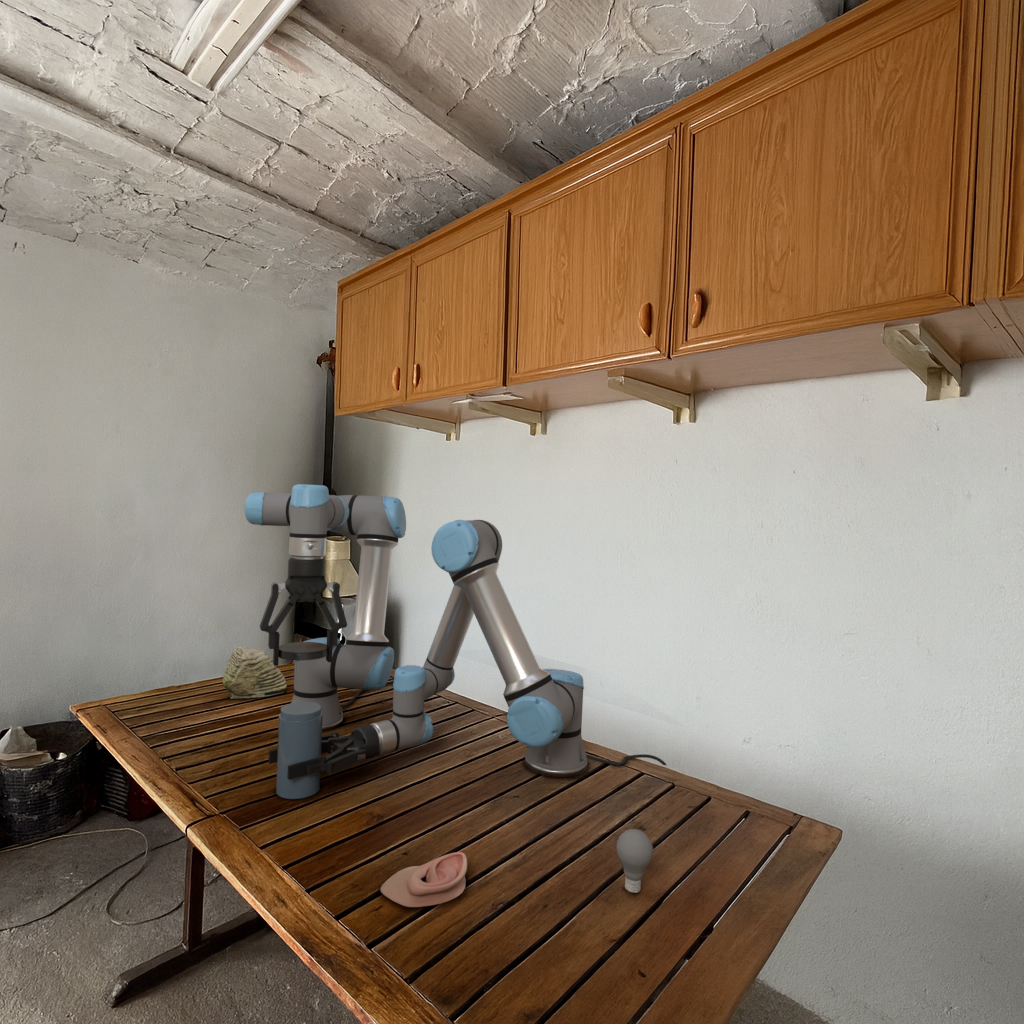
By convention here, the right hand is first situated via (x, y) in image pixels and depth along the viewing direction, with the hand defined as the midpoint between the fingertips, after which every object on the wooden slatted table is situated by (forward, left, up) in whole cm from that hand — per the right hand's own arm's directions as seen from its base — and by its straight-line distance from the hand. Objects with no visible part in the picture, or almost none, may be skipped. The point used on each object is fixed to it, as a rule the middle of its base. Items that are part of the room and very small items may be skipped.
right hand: (278, 764), depth 134 cm
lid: (-4, +1, +25) cm, 25 cm away
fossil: (+10, -71, -6) cm, 72 cm away
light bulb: (-58, +48, -6) cm, 75 cm away
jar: (-4, -2, -6) cm, 8 cm away
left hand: (-4, +1, +22) cm, 22 cm away
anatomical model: (-24, +39, -6) cm, 46 cm away
